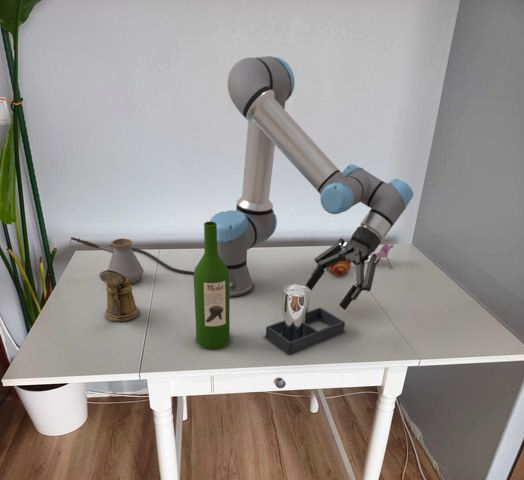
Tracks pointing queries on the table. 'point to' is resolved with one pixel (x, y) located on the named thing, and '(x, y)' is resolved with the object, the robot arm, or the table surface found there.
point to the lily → (385, 251)
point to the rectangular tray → (306, 331)
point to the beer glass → (294, 311)
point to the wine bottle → (211, 294)
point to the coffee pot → (121, 258)
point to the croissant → (340, 267)
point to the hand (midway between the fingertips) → (324, 297)
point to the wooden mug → (119, 297)
